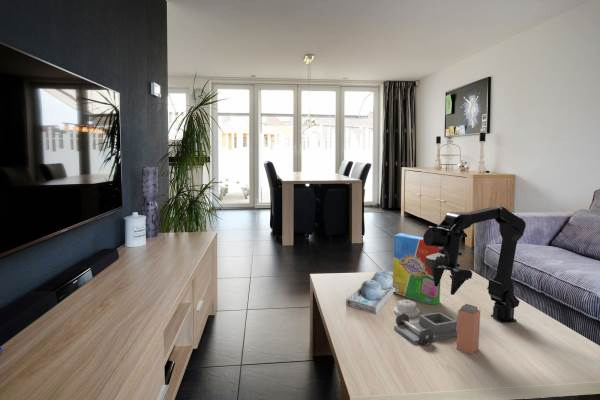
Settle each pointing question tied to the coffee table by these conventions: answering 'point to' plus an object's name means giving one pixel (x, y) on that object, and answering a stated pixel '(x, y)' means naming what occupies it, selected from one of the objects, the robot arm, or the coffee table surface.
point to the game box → (414, 269)
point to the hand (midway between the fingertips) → (443, 290)
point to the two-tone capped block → (468, 328)
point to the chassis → (426, 327)
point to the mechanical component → (407, 308)
